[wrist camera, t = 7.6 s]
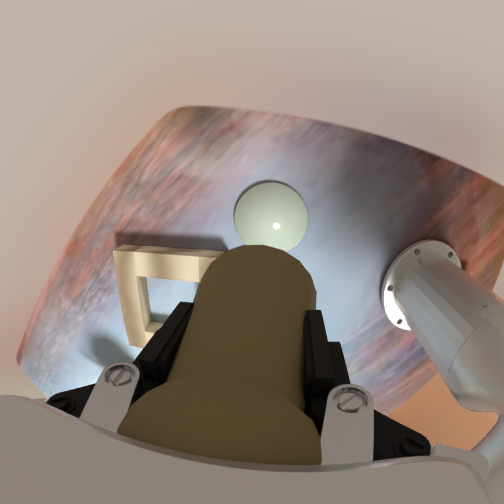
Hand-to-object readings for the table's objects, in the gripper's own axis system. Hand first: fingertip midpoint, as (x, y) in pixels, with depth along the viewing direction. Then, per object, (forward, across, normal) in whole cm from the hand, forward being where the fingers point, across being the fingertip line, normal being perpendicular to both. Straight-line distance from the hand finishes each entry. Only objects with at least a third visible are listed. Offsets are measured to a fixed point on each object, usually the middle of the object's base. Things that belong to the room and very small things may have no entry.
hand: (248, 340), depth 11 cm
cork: (+3, 0, 0) cm, 3 cm away
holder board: (+21, +12, +10) cm, 26 cm away
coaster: (+21, 0, -1) cm, 21 cm away
